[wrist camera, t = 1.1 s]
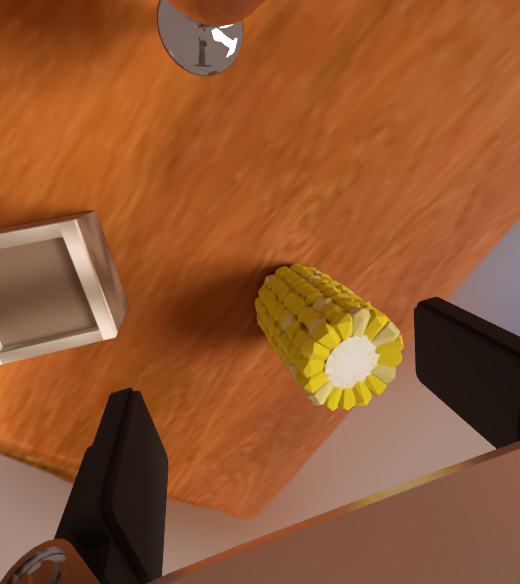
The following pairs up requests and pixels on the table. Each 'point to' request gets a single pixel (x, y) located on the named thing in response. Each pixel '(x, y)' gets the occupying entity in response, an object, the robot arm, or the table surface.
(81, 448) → the table surface
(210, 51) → the wine glass
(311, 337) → the food
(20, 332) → the square holder
